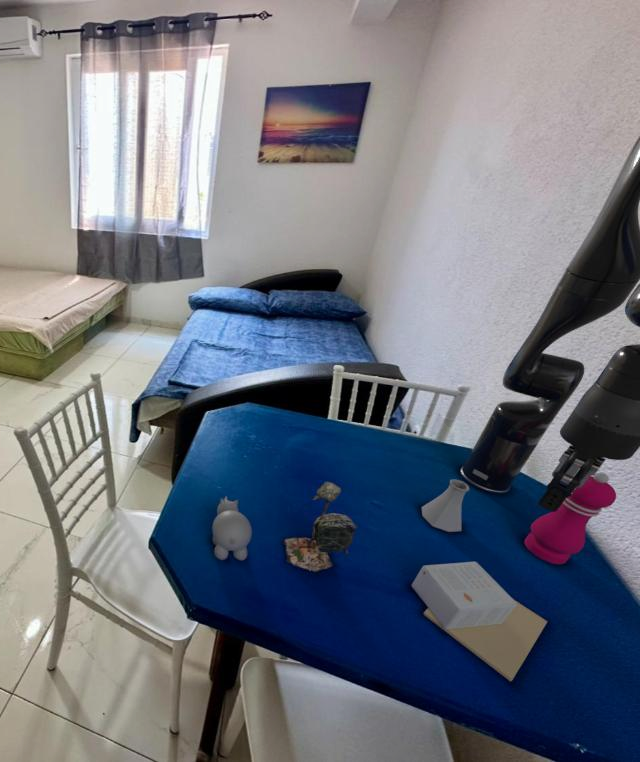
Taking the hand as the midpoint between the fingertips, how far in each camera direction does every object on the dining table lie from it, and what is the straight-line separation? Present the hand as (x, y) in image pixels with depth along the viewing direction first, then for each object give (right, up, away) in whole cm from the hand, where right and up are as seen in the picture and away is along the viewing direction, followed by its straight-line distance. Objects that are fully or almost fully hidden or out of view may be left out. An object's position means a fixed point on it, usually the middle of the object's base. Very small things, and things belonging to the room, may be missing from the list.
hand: (547, 506), depth 65 cm
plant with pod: (-32, -14, +13) cm, 37 cm away
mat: (-8, -20, +3) cm, 21 cm away
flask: (-1, -10, +22) cm, 24 cm away
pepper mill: (+15, -14, +15) cm, 26 cm away
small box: (-6, -15, +3) cm, 17 cm away
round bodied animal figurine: (-48, -11, +16) cm, 52 cm away
